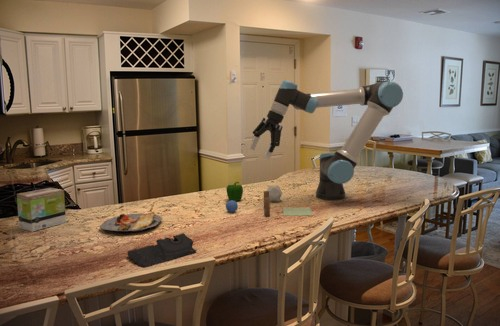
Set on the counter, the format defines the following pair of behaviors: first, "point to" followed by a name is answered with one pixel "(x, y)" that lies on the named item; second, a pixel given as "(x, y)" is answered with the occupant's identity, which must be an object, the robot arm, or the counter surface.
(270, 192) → the die
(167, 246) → the stepped dark grey slab
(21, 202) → the tea box
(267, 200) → the gate post
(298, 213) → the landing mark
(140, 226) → the food plate
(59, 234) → the counter surface
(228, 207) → the ball
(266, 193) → the gate post
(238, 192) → the bell pepper
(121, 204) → the counter surface
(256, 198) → the counter surface
